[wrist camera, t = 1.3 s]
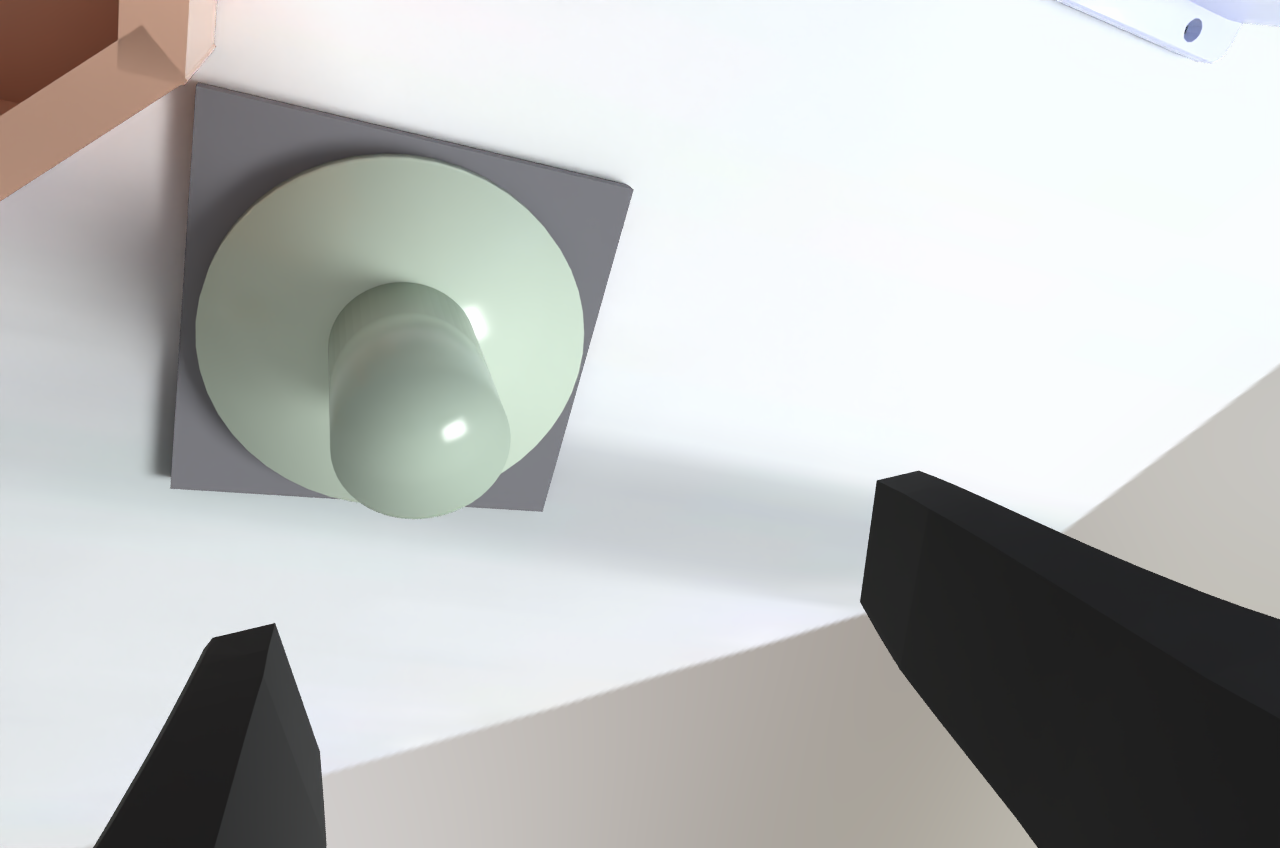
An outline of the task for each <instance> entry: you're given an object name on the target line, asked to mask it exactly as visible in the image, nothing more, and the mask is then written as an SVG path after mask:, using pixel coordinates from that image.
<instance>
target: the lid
mask: <svg viewBox="0 0 1280 848" xmlns="http://www.w3.org/2000/svg"><path fill="white" fill-rule="evenodd" d="M583 343H584V322H583V310H582V305H581V300H580V296H579V291H578V288H577V285H576V282H575V279H574V277H573V274H572V271H571V269H570V267H569V265H568V263H567V261H566V259H565V257H564V255H563V254H562V252H561V250H560V248H559V247H558V246H557V244H556V243H555V241H554V240H553V239H552V237H551V236H550V234H549V233H548V232H547V230H546V229H545V227H544V226H543V225H542V223H541V222H540V221H539V220H538V219H537V218H536V217H535V216H534V215H533V214H532V213H531V212H530V211H529V209H528V208H527V207H526V206H525V205H524V204H522V203H521V202H520V201H519V200H517V199H516V198H515V197H514V196H513V195H511V194H510V193H509V192H508V191H506V190H505V189H503V188H502V187H500V186H498V185H497V184H495V183H494V182H492V181H490V180H489V179H487V178H485V177H484V176H481V175H479V174H477V173H475V172H472V171H470V170H468V169H466V168H463V167H461V166H458V165H455V164H452V163H448V162H445V161H442V160H438V159H435V158H429V157H422V156H416V155H410V154H387V153H379V154H369V155H358V156H351V157H347V158H343V159H338V160H334V161H330V162H326V163H323V164H321V165H318V166H315V167H313V168H310V169H307V170H305V171H302V172H300V173H298V174H296V175H294V176H293V177H291V178H289V179H287V180H285V181H283V182H282V183H280V184H278V185H276V186H275V187H274V188H272V189H271V190H270V191H268V192H267V193H266V194H264V195H263V196H262V197H260V198H259V199H258V200H256V201H255V202H254V203H253V204H252V205H251V206H250V207H249V208H248V209H247V210H246V211H245V212H244V213H243V214H242V215H241V216H240V217H239V218H238V219H237V221H236V222H235V223H234V225H233V226H232V227H231V229H230V230H229V232H228V233H227V234H226V236H225V237H224V238H223V240H222V242H221V243H220V245H219V247H218V249H217V251H216V253H215V255H214V257H213V259H212V261H211V263H210V266H209V269H208V272H207V275H206V278H205V281H204V285H203V288H202V291H201V294H200V297H199V303H198V309H197V316H196V350H197V356H198V362H199V368H200V372H201V375H202V378H203V381H204V384H205V387H206V390H207V393H208V395H209V397H210V399H211V401H212V403H213V405H214V407H215V409H216V411H217V413H218V415H219V416H220V417H221V419H222V420H223V422H224V423H225V424H226V426H227V427H228V429H229V430H230V432H231V433H232V434H233V435H234V436H235V437H236V438H237V440H238V441H239V442H240V443H241V444H242V445H243V446H244V447H245V448H246V449H247V450H248V451H249V452H250V453H251V454H252V455H254V456H255V457H256V458H257V459H258V460H260V461H261V462H262V463H263V464H265V465H266V466H267V467H269V468H270V469H272V470H273V471H275V472H277V473H278V474H280V475H281V476H283V477H284V478H286V479H288V480H290V481H292V482H294V483H296V484H298V485H300V486H303V487H305V488H307V489H309V490H312V491H315V492H318V493H321V494H324V495H327V496H329V497H334V498H338V499H343V500H347V501H351V502H359V503H361V504H363V505H364V506H366V507H368V508H370V509H372V510H374V511H376V512H379V513H381V514H384V515H388V516H392V517H397V518H405V519H425V518H433V517H438V516H442V515H445V514H449V513H452V512H454V511H457V510H459V509H461V508H463V507H465V506H467V505H469V504H470V503H472V502H474V501H475V500H476V499H478V498H479V497H480V496H482V495H483V494H484V493H485V492H486V491H487V490H488V489H489V488H490V487H491V486H492V485H493V484H494V482H495V481H496V480H497V478H498V477H499V475H500V474H501V473H503V472H504V471H506V470H507V469H508V468H510V467H511V466H513V465H514V464H515V463H517V462H518V461H520V460H521V459H522V458H523V457H524V456H525V455H526V454H527V453H529V452H530V451H531V450H532V449H533V448H534V447H535V446H536V445H537V444H538V443H539V442H540V441H541V440H542V438H543V437H544V436H545V435H546V434H547V433H548V431H549V430H550V429H551V428H552V426H553V425H554V423H555V422H556V420H557V419H558V417H559V416H560V414H561V413H562V411H563V409H564V407H565V405H566V403H567V401H568V399H569V397H570V395H571V393H572V391H573V388H574V385H575V382H576V379H577V377H578V373H579V369H580V364H581V359H582V355H583Z"/></svg>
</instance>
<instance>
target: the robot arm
mask: <svg viewBox="0 0 1280 848" xmlns="http://www.w3.org/2000/svg"><path fill="white" fill-rule="evenodd" d="M1056 1H1059V2H1061V3H1063V4H1065V5H1068V6H1070V7H1072V8H1075V9H1077V10H1079V11H1081V12H1084V13H1086V14H1088V15H1091V16H1093V17H1095V18H1097V19H1100V20H1102V21H1104V22H1107V23H1109V24H1111V25H1114V26H1116V27H1118V28H1120V29H1123V30H1125V31H1127V32H1130V33H1132V34H1134V35H1136V36H1139V37H1141V38H1143V39H1146V40H1148V41H1150V42H1152V43H1155V44H1157V45H1159V46H1162V47H1164V48H1166V49H1169V50H1171V51H1173V52H1175V53H1178V54H1180V55H1182V56H1185V57H1187V58H1189V59H1191V60H1194V61H1197V62H1203V63H1214V62H1216V61H1218V60H1220V59H1221V58H1222V57H1223V56H1224V55H1225V54H1226V53H1227V51H1228V50H1229V48H1230V47H1231V45H1232V43H1233V41H1234V39H1235V37H1236V36H1237V34H1238V32H1239V30H1240V28H1241V26H1242V24H1243V23H1247V24H1257V25H1267V26H1276V27H1280V0H1056ZM1187 25H1188V28H1187V31H1186V33H1185V34H1184V32H1185V29H1186V26H1187ZM860 603H861V604H862V606H863V608H864V610H865V611H866V613H867V615H868V617H869V618H870V620H871V622H872V624H873V625H874V627H875V629H876V631H877V632H878V634H879V636H880V638H881V639H882V641H883V642H884V644H885V646H886V648H887V649H888V651H889V652H890V654H891V656H892V657H893V659H894V661H895V662H896V664H897V665H898V667H899V669H900V670H901V671H902V673H903V674H904V675H905V677H906V678H907V679H908V681H909V682H910V683H911V685H912V686H913V687H914V689H915V690H916V691H917V692H918V694H919V695H920V696H921V698H922V699H923V700H924V701H925V703H926V704H927V705H928V707H929V708H930V709H931V711H932V712H933V713H934V714H935V716H936V717H937V718H938V720H939V721H940V722H941V723H942V725H943V726H944V727H945V728H946V730H947V731H948V732H949V734H950V735H951V736H952V737H953V739H954V740H955V741H956V742H957V744H958V745H959V746H960V747H961V749H962V750H963V751H964V752H965V754H966V755H967V756H968V758H969V759H970V760H971V761H972V763H973V764H974V765H975V766H976V768H977V769H978V770H979V771H980V773H981V774H982V775H983V777H984V778H985V779H986V780H987V782H988V783H989V784H990V785H991V787H992V788H993V789H994V790H995V792H996V793H997V794H998V796H999V797H1000V798H1001V799H1002V801H1003V802H1004V803H1005V804H1006V806H1007V807H1008V808H1009V809H1010V811H1011V812H1012V813H1013V815H1014V816H1015V817H1016V818H1017V820H1018V821H1019V822H1020V824H1021V825H1022V827H1023V828H1024V829H1025V831H1026V832H1027V833H1028V835H1029V836H1030V838H1031V839H1032V840H1033V842H1034V843H1035V844H1036V846H1037V847H1038V848H1280V619H1277V618H1274V617H1271V616H1268V615H1265V614H1262V613H1259V612H1256V611H1253V610H1250V609H1247V608H1244V607H1241V606H1239V605H1236V604H1233V603H1230V602H1228V601H1225V600H1222V599H1220V598H1217V597H1214V596H1211V595H1209V594H1206V593H1203V592H1201V591H1198V590H1196V589H1193V588H1191V587H1188V586H1186V585H1183V584H1180V583H1178V582H1176V581H1173V580H1170V579H1168V578H1166V577H1163V576H1160V575H1158V574H1155V573H1153V572H1150V571H1148V570H1145V569H1143V568H1140V567H1138V566H1136V565H1133V564H1131V563H1129V562H1126V561H1124V560H1122V559H1119V558H1117V557H1114V556H1112V555H1109V554H1107V553H1105V552H1103V551H1100V550H1098V549H1096V548H1094V547H1091V546H1089V545H1087V544H1085V543H1082V542H1080V541H1078V540H1076V539H1073V538H1071V537H1069V536H1067V535H1064V534H1062V533H1060V532H1058V531H1055V530H1053V529H1051V528H1049V527H1047V526H1044V525H1042V524H1040V523H1038V522H1036V521H1033V520H1031V519H1029V518H1027V517H1025V516H1022V515H1020V514H1018V513H1016V512H1014V511H1011V510H1009V509H1007V508H1005V507H1003V506H1001V505H998V504H996V503H994V502H992V501H990V500H987V499H985V498H983V497H981V496H978V495H976V494H974V493H972V492H969V491H967V490H965V489H963V488H960V487H958V486H956V485H953V484H951V483H949V482H946V481H944V480H941V479H939V478H937V477H934V476H931V475H929V474H926V473H923V472H921V471H915V472H911V473H907V474H902V475H898V476H894V477H890V478H886V479H881V480H877V483H876V491H875V498H874V505H873V512H872V520H871V527H870V534H869V541H868V548H867V556H866V563H865V570H864V577H863V585H862V592H861V599H860ZM93 848H326V831H325V815H324V800H323V787H322V773H321V760H320V751H319V748H318V745H317V742H316V739H315V737H314V734H313V731H312V728H311V725H310V722H309V719H308V716H307V714H306V711H305V708H304V705H303V702H302V699H301V696H300V693H299V691H298V688H297V685H296V682H295V679H294V676H293V673H292V670H291V668H290V665H289V662H288V659H287V656H286V653H285V650H284V647H283V645H282V642H281V639H280V636H279V633H278V630H277V627H276V624H275V623H274V624H269V625H265V626H261V627H257V628H253V629H248V630H244V631H240V632H236V633H231V634H227V635H223V636H219V637H215V638H212V639H211V641H210V642H209V643H208V645H207V646H206V647H205V648H204V650H203V652H202V654H201V656H200V658H199V660H198V662H197V664H196V666H195V668H194V669H193V671H192V673H191V675H190V677H189V679H188V681H187V683H186V685H185V687H184V689H183V691H182V693H181V695H180V696H179V698H178V700H177V702H176V704H175V706H174V708H173V710H172V712H171V713H170V715H169V717H168V719H167V721H166V723H165V725H164V726H163V728H162V730H161V732H160V734H159V735H158V737H157V739H156V741H155V743H154V745H153V746H152V748H151V750H150V752H149V754H148V755H147V757H146V759H145V761H144V763H143V764H142V766H141V768H140V769H139V771H138V773H137V774H136V776H135V778H134V780H133V781H132V783H131V785H130V786H129V788H128V790H127V792H126V793H125V795H124V797H123V798H122V800H121V802H120V804H119V805H118V807H117V809H116V810H115V812H114V814H113V816H112V817H111V819H110V821H109V822H108V824H107V826H106V827H105V829H104V831H103V832H102V834H101V836H100V837H99V839H98V841H97V842H96V844H95V846H94V847H93Z"/></svg>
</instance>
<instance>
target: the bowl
mask: <svg viewBox="0 0 1280 848" xmlns="http://www.w3.org/2000/svg"><path fill="white" fill-rule="evenodd" d="M216 11H217V0H0V201H1V200H3V199H5V198H6V197H8V196H9V195H11V194H12V193H14V192H15V191H17V190H18V189H20V188H22V187H23V186H25V185H26V184H28V183H29V182H31V181H32V180H34V179H36V178H37V177H39V176H40V175H42V174H43V173H45V172H46V171H48V170H49V169H51V168H53V167H54V166H56V165H57V164H59V163H60V162H62V161H63V160H65V159H67V158H68V157H70V156H71V155H73V154H74V153H76V152H77V151H79V150H81V149H82V148H84V147H85V146H87V145H88V144H90V143H91V142H93V141H94V140H96V139H98V138H99V137H101V136H102V135H104V134H105V133H107V132H108V131H110V130H112V129H113V128H115V127H116V126H118V125H119V124H121V123H122V122H124V121H125V120H127V119H129V118H130V117H132V116H133V115H135V114H136V113H138V112H139V111H141V110H143V109H144V108H146V107H147V106H149V105H150V104H152V103H153V102H155V101H156V100H158V99H160V98H161V97H163V96H164V95H166V94H167V93H169V92H170V91H172V90H174V89H175V88H177V87H178V86H180V85H185V84H186V83H187V82H188V81H189V79H190V78H191V77H192V76H193V75H194V73H195V72H196V71H197V70H198V69H199V67H200V66H201V65H202V64H203V63H204V61H205V60H206V59H207V58H208V57H209V55H210V54H211V53H212V52H213V51H214V48H215V47H216V46H215V45H214V39H215V25H216Z"/></svg>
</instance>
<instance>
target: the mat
mask: <svg viewBox="0 0 1280 848" xmlns="http://www.w3.org/2000/svg"><path fill="white" fill-rule="evenodd" d="M379 153H387V154H410V155H416V156H422V157H429V158H435V159H438V160H442V161H445V162H448V163H452V164H455V165H458V166H461V167H463V168H466V169H468V170H470V171H472V172H475V173H477V174H479V175H481V176H484V177H485V178H487V179H489V180H490V181H492V182H494V183H495V184H497V185H498V186H500V187H502V188H503V189H505V190H506V191H508V192H509V193H510V194H511V195H513V196H514V197H515V198H516V199H517V200H519V201H520V202H521V203H522V204H524V205H525V206H526V207H527V208H528V209H529V211H530V212H531V213H532V214H533V215H534V216H535V217H536V218H537V219H538V220H539V221H540V222H541V223H542V225H543V226H544V227H545V229H546V230H547V232H548V233H549V234H550V236H551V237H552V239H553V240H554V241H555V243H556V244H557V246H558V247H559V248H560V250H561V252H562V254H563V255H564V257H565V259H566V261H567V263H568V265H569V267H570V269H571V271H572V274H573V277H574V279H575V282H576V285H577V288H578V291H579V296H580V300H581V305H582V310H583V322H584V343H583V355H582V359H581V364H580V369H579V373H578V377H577V379H576V382H575V385H574V388H573V391H572V393H571V395H570V397H569V399H568V401H567V403H566V405H565V407H564V409H563V411H562V413H561V414H560V416H559V417H558V419H557V420H556V422H555V423H554V425H553V426H552V428H551V429H550V430H549V431H548V433H547V434H546V435H545V436H544V437H543V438H542V440H541V441H540V442H539V443H538V444H537V445H536V446H535V447H534V448H533V449H532V450H531V451H530V452H529V453H527V454H526V455H525V456H524V457H523V458H522V459H521V460H520V461H518V462H517V463H515V464H514V465H513V466H511V467H510V468H508V469H507V470H506V471H504V472H503V473H501V474H500V475H499V477H498V478H497V480H496V481H495V482H494V484H493V485H492V486H491V487H490V488H489V489H488V490H487V491H486V492H485V493H484V494H483V495H482V496H480V497H479V498H478V499H476V500H475V501H474V502H472V503H470V504H469V505H467V506H465V507H476V508H492V509H509V510H525V511H541V512H542V511H543V508H544V504H545V501H546V497H547V494H548V490H549V487H550V483H551V479H552V476H553V472H554V469H555V465H556V462H557V458H558V455H559V451H560V448H561V444H562V441H563V437H564V433H565V430H566V426H567V423H568V419H569V416H570V412H571V409H572V405H573V402H574V398H575V395H576V391H577V387H578V384H579V380H580V377H581V373H582V370H583V366H584V363H585V359H586V356H587V352H588V349H589V345H590V341H591V338H592V334H593V331H594V327H595V324H596V320H597V317H598V313H599V310H600V306H601V303H602V299H603V295H604V292H605V288H606V285H607V281H608V278H609V274H610V271H611V267H612V264H613V260H614V256H615V253H616V249H617V246H618V242H619V239H620V235H621V232H622V228H623V225H624V221H625V218H626V214H627V210H628V207H629V203H630V200H631V196H632V193H633V189H632V188H631V187H630V186H629V185H626V184H622V183H618V182H613V181H609V180H605V179H601V178H597V177H593V176H588V175H584V174H580V173H576V172H572V171H567V170H563V169H559V168H555V167H551V166H546V165H542V164H538V163H534V162H530V161H526V160H521V159H517V158H513V157H509V156H505V155H500V154H496V153H492V152H488V151H484V150H479V149H475V148H471V147H467V146H463V145H459V144H454V143H450V142H446V141H442V140H438V139H433V138H429V137H425V136H421V135H417V134H412V133H408V132H404V131H400V130H396V129H392V128H387V127H383V126H379V125H375V124H371V123H366V122H362V121H358V120H354V119H350V118H345V117H341V116H337V115H333V114H329V113H324V112H320V111H316V110H312V109H308V108H304V107H299V106H295V105H291V104H287V103H283V102H278V101H274V100H270V99H266V98H262V97H257V96H253V95H249V94H245V93H241V92H237V91H232V90H228V89H224V88H220V87H216V86H211V85H207V84H203V83H198V84H197V85H196V95H195V111H194V127H193V142H192V158H191V174H190V189H189V205H188V221H187V236H186V252H185V268H184V283H183V299H182V315H181V330H180V346H179V362H178V377H177V393H176V408H175V424H174V440H173V455H172V471H171V487H170V489H186V490H202V491H219V492H235V493H251V494H267V495H283V496H299V497H315V498H331V499H338V498H334V497H329V496H327V495H324V494H321V493H318V492H315V491H312V490H309V489H307V488H305V487H303V486H300V485H298V484H296V483H294V482H292V481H290V480H288V479H286V478H284V477H283V476H281V475H280V474H278V473H277V472H275V471H273V470H272V469H270V468H269V467H267V466H266V465H265V464H263V463H262V462H261V461H260V460H258V459H257V458H256V457H255V456H254V455H252V454H251V453H250V452H249V451H248V450H247V449H246V448H245V447H244V446H243V445H242V444H241V443H240V442H239V441H238V440H237V438H236V437H235V436H234V435H233V434H232V433H231V432H230V430H229V429H228V427H227V426H226V424H225V423H224V422H223V420H222V419H221V417H220V416H219V415H218V413H217V411H216V409H215V407H214V405H213V403H212V401H211V399H210V397H209V395H208V393H207V390H206V387H205V384H204V381H203V378H202V375H201V372H200V368H199V362H198V356H197V350H196V316H197V309H198V303H199V297H200V294H201V291H202V288H203V285H204V281H205V278H206V275H207V272H208V269H209V266H210V263H211V261H212V259H213V257H214V255H215V253H216V251H217V249H218V247H219V245H220V243H221V242H222V240H223V238H224V237H225V236H226V234H227V233H228V232H229V230H230V229H231V227H232V226H233V225H234V223H235V222H236V221H237V219H238V218H239V217H240V216H241V215H242V214H243V213H244V212H245V211H246V210H247V209H248V208H249V207H250V206H251V205H252V204H253V203H254V202H255V201H256V200H258V199H259V198H260V197H262V196H263V195H264V194H266V193H267V192H268V191H270V190H271V189H272V188H274V187H275V186H276V185H278V184H280V183H282V182H283V181H285V180H287V179H289V178H291V177H293V176H294V175H296V174H298V173H300V172H302V171H305V170H307V169H310V168H313V167H315V166H318V165H321V164H323V163H326V162H330V161H334V160H338V159H343V158H347V157H351V156H358V155H369V154H379Z"/></svg>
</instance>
